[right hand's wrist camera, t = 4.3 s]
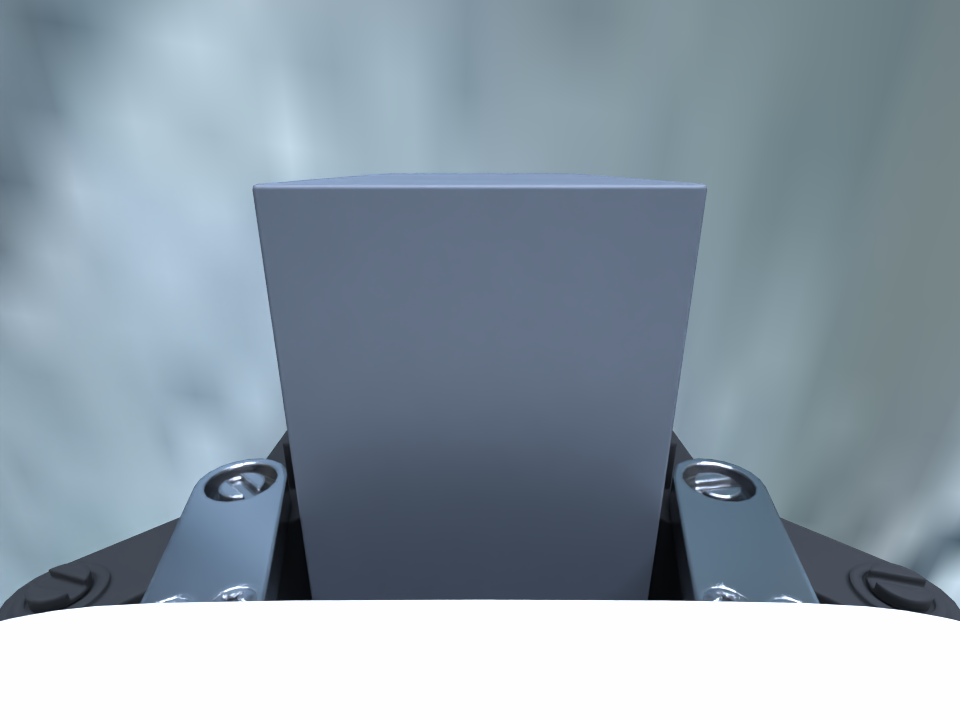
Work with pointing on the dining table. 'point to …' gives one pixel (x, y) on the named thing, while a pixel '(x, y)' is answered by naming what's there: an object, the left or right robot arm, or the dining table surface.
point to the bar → (479, 377)
